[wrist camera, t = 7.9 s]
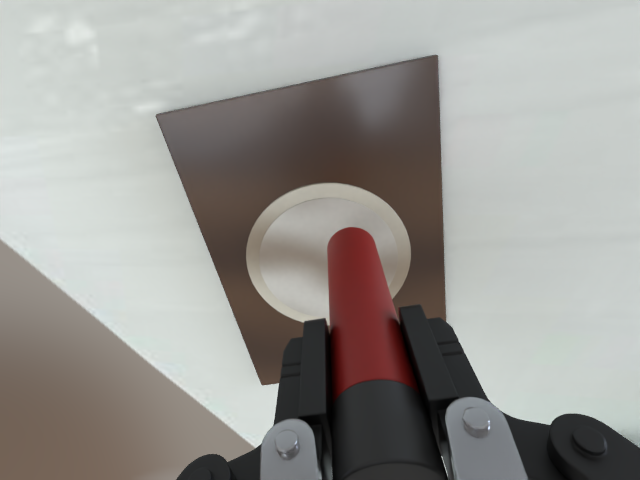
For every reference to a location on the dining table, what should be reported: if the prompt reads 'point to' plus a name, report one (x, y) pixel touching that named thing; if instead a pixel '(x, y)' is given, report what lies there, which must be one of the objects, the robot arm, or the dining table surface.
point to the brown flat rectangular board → (315, 193)
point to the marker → (372, 374)
